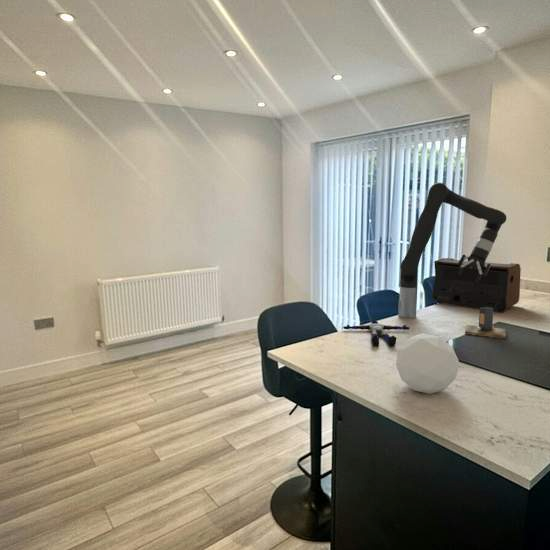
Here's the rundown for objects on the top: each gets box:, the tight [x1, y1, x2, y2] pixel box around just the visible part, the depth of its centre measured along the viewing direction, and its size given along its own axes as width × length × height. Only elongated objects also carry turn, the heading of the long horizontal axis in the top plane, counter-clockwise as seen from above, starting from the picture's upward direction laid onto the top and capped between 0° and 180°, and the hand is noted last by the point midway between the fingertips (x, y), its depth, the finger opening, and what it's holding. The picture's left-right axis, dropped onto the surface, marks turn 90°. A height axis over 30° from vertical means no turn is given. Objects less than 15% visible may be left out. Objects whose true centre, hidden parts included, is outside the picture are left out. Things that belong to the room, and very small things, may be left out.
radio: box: [431, 257, 522, 314], centre depth 244 cm, size 45×32×28 cm
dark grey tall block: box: [478, 307, 494, 332], centre depth 190 cm, size 5×4×11 cm
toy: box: [342, 319, 410, 348], centre depth 190 cm, size 33×6×30 cm
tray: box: [464, 324, 507, 340], centre depth 191 cm, size 17×12×4 cm
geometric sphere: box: [395, 332, 460, 395], centre depth 132 cm, size 19×20×20 cm
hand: (467, 278), depth 202 cm, fingers open, 8 cm apart
